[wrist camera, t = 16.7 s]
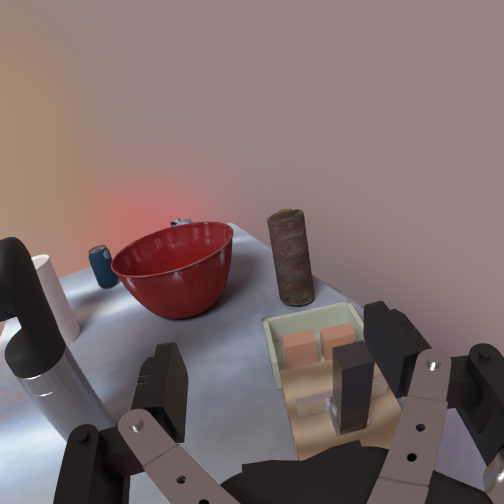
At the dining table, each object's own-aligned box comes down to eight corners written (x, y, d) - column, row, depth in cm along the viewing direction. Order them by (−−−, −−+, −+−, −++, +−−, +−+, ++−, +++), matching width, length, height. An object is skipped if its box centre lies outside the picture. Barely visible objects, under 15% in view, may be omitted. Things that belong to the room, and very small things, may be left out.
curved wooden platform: (408, 448, 32) (414, 433, 30) (303, 480, 32) (301, 467, 30) (366, 367, 47) (368, 349, 46) (282, 388, 47) (279, 371, 46)
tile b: (355, 333, 47) (349, 322, 50) (324, 340, 47) (319, 329, 50) (354, 356, 49) (349, 345, 52) (325, 363, 49) (321, 352, 52)
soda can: (124, 279, 94) (111, 244, 90) (109, 291, 89) (95, 254, 84) (110, 277, 98) (98, 244, 93) (95, 288, 92) (82, 253, 87)
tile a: (316, 341, 48) (312, 329, 50) (284, 347, 48) (282, 335, 51) (318, 363, 50) (314, 352, 52) (288, 370, 50) (285, 358, 53)
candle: (292, 314, 65) (279, 221, 57) (273, 300, 71) (258, 213, 63) (321, 299, 68) (312, 209, 60) (300, 287, 74) (290, 203, 66)
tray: (371, 366, 47) (373, 338, 45) (276, 389, 47) (271, 362, 45) (349, 326, 58) (349, 300, 55) (267, 345, 58) (262, 319, 55)
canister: (28, 350, 65) (-7, 281, 57) (57, 320, 77) (28, 256, 69) (59, 357, 61) (21, 280, 53) (89, 324, 73) (59, 252, 65)
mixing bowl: (110, 329, 70) (86, 271, 64) (172, 272, 94) (158, 223, 88) (212, 349, 59) (190, 278, 53) (262, 275, 83) (252, 218, 76)
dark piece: (397, 417, 33) (412, 348, 28) (304, 444, 33) (297, 380, 28) (383, 389, 38) (391, 320, 33) (296, 413, 38) (287, 346, 33)
